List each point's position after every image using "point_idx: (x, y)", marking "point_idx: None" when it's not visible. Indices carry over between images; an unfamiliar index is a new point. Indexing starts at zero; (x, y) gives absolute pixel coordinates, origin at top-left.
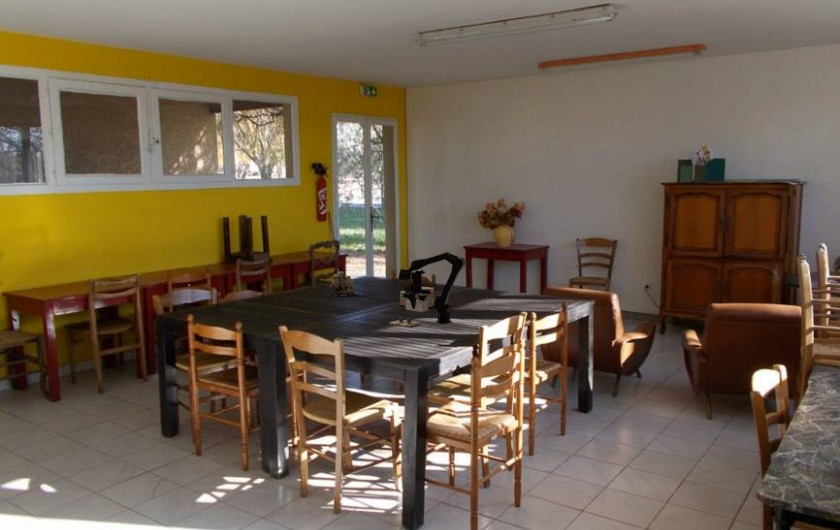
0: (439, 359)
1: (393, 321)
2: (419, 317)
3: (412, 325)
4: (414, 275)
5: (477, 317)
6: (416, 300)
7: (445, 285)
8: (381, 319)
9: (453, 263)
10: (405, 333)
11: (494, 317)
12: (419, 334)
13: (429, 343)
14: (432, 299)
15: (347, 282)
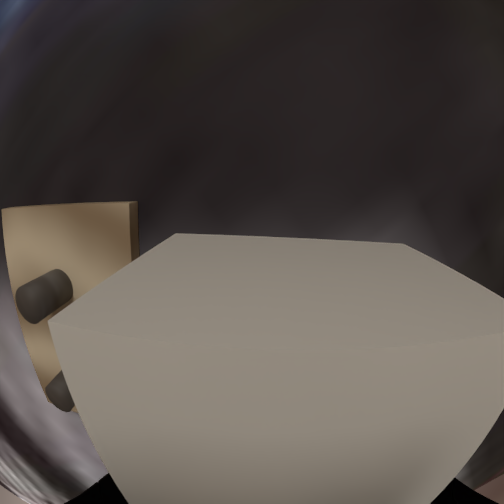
0: (17, 496)
1: (32, 211)
2: (432, 237)
3: (75, 409)
4: None
5: (487, 458)
6: (407, 501)
7: None
8: (113, 3)
9: None
10: (4, 414)
11: (488, 476)
12: (43, 460)
13: (33, 486)
14: None
15: None
